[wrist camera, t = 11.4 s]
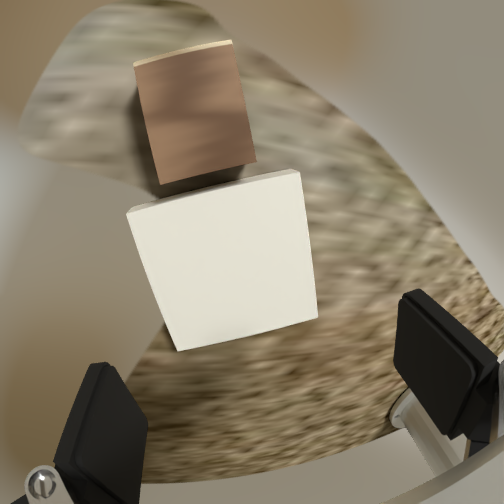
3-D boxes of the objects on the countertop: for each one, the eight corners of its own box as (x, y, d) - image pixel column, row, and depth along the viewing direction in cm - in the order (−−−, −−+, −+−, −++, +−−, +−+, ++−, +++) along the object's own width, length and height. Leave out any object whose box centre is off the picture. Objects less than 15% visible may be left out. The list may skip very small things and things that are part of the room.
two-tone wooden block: (248, 157, 21) (226, 53, 18) (256, 161, 18) (231, 39, 15) (166, 177, 21) (143, 73, 18) (160, 184, 18) (133, 62, 14)
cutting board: (291, 168, 22) (299, 172, 20) (310, 304, 27) (317, 317, 25) (132, 207, 21) (125, 213, 19) (178, 336, 26) (177, 351, 24)
